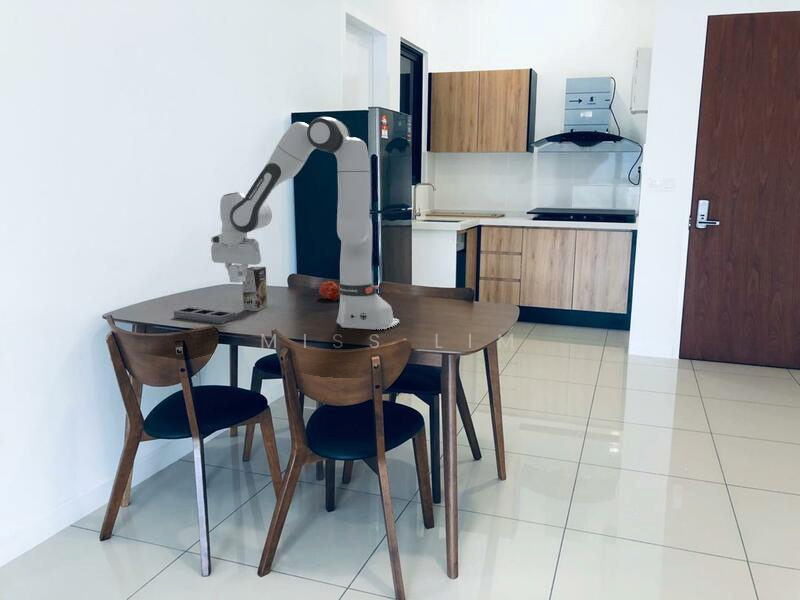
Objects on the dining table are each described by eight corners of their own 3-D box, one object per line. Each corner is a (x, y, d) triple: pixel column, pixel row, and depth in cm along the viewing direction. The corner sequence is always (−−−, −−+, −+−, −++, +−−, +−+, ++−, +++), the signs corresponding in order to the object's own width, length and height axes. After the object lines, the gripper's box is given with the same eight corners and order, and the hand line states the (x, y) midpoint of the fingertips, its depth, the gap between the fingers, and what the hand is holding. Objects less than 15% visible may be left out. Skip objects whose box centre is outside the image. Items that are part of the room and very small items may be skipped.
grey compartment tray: (235, 319, 233) (235, 312, 232) (220, 323, 226) (220, 317, 225) (189, 313, 242) (189, 307, 241) (174, 317, 235) (173, 311, 234)
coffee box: (258, 311, 246) (256, 270, 242) (243, 310, 247) (241, 269, 244) (268, 306, 254) (266, 266, 251) (253, 305, 256) (251, 266, 252)
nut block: (245, 280, 235) (244, 264, 234) (238, 282, 232) (237, 266, 231) (237, 280, 237) (235, 264, 236) (229, 282, 233) (228, 265, 232)
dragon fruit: (319, 300, 273) (342, 307, 268) (310, 292, 266) (333, 299, 261) (328, 283, 276) (351, 290, 270) (319, 274, 269) (342, 281, 263)
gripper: (263, 237, 230) (265, 275, 232) (219, 236, 238) (221, 272, 241) (252, 239, 224) (254, 278, 227) (207, 238, 233) (210, 275, 235)
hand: (237, 275), depth 234 cm, fingers closed on nut block, 4 cm apart
